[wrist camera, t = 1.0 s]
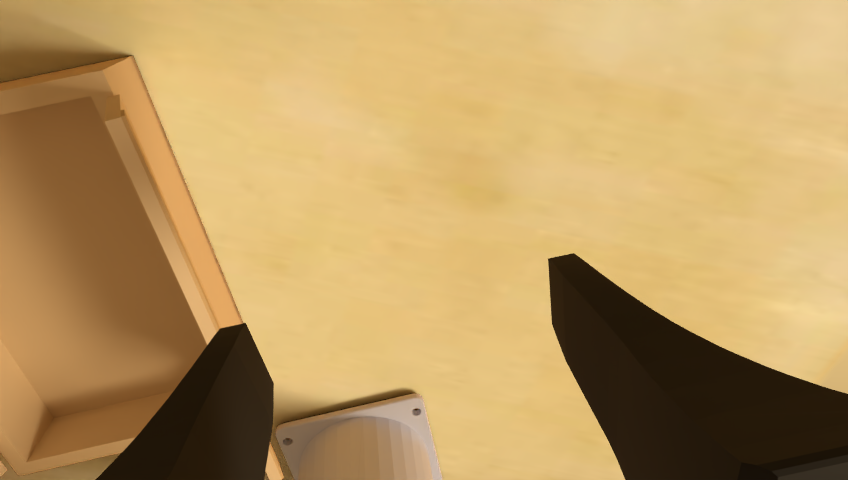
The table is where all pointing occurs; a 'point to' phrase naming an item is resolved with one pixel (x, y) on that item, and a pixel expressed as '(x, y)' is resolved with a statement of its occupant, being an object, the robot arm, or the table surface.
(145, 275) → the carton
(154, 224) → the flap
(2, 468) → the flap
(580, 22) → the table surface
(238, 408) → the robot arm
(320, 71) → the table surface
